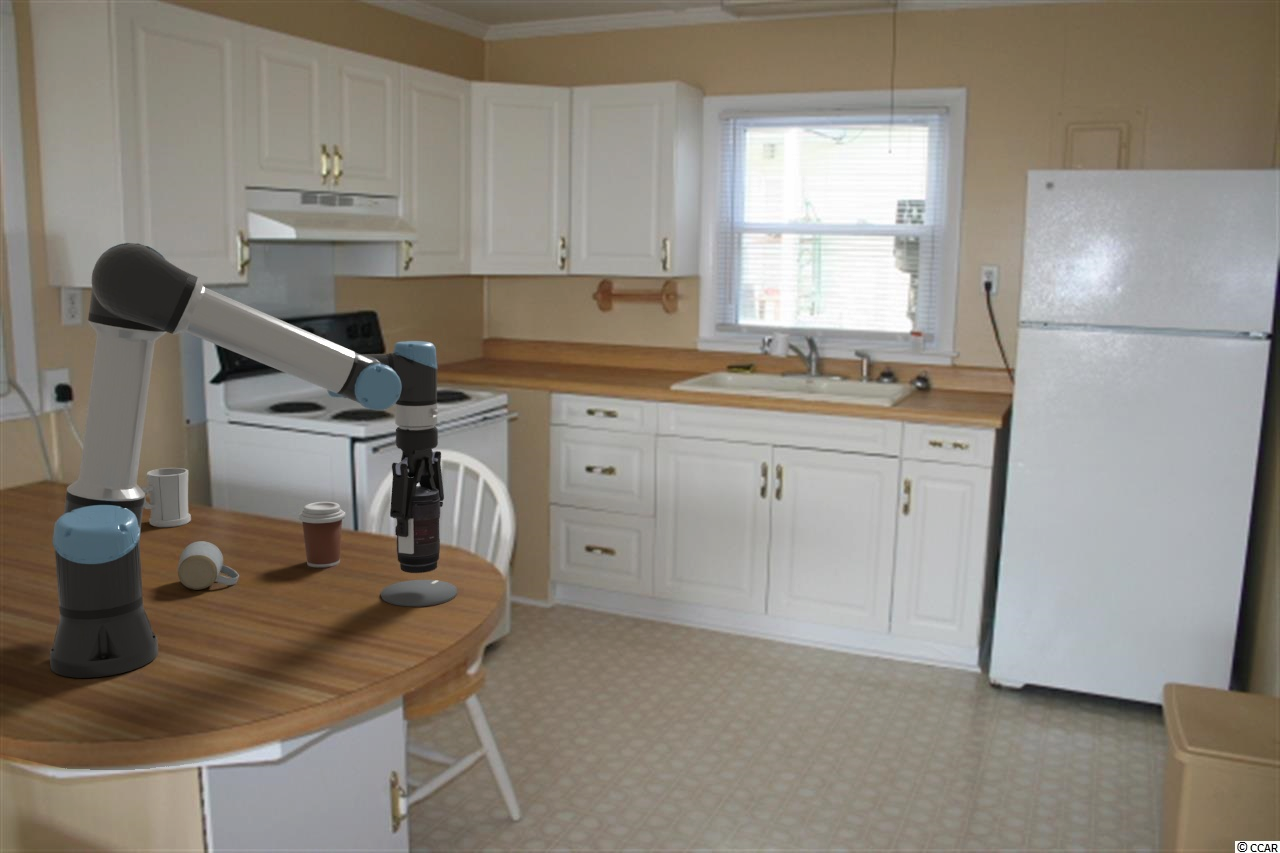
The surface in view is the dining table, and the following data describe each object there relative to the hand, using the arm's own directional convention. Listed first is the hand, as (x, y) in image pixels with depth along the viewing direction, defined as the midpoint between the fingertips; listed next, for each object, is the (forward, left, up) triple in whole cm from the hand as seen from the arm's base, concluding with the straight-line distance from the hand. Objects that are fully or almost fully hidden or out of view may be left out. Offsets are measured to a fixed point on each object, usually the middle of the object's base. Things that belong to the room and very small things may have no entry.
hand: (418, 546), depth 202 cm
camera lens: (0, 0, -4) cm, 4 cm away
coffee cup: (+10, +28, -10) cm, 31 cm away
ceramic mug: (-10, +40, -10) cm, 42 cm away
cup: (+22, +78, -10) cm, 82 cm away
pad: (0, 0, -9) cm, 9 cm away
